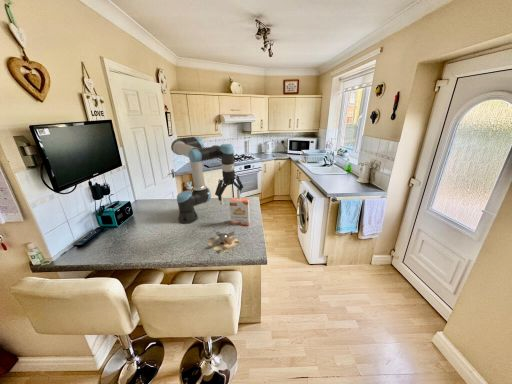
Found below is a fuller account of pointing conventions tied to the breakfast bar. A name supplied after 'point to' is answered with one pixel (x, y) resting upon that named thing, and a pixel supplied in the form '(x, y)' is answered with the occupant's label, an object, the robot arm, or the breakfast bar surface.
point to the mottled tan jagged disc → (224, 247)
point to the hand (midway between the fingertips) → (230, 201)
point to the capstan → (223, 238)
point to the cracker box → (239, 211)
